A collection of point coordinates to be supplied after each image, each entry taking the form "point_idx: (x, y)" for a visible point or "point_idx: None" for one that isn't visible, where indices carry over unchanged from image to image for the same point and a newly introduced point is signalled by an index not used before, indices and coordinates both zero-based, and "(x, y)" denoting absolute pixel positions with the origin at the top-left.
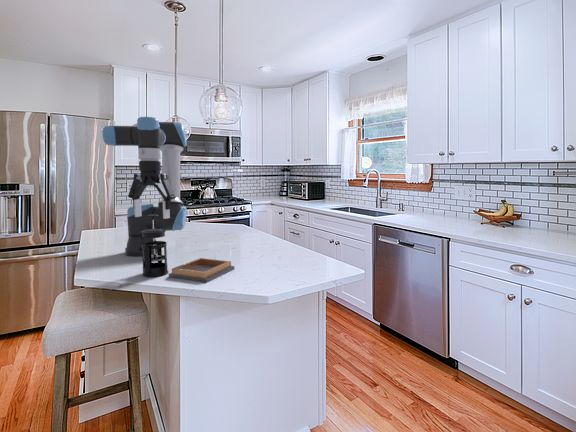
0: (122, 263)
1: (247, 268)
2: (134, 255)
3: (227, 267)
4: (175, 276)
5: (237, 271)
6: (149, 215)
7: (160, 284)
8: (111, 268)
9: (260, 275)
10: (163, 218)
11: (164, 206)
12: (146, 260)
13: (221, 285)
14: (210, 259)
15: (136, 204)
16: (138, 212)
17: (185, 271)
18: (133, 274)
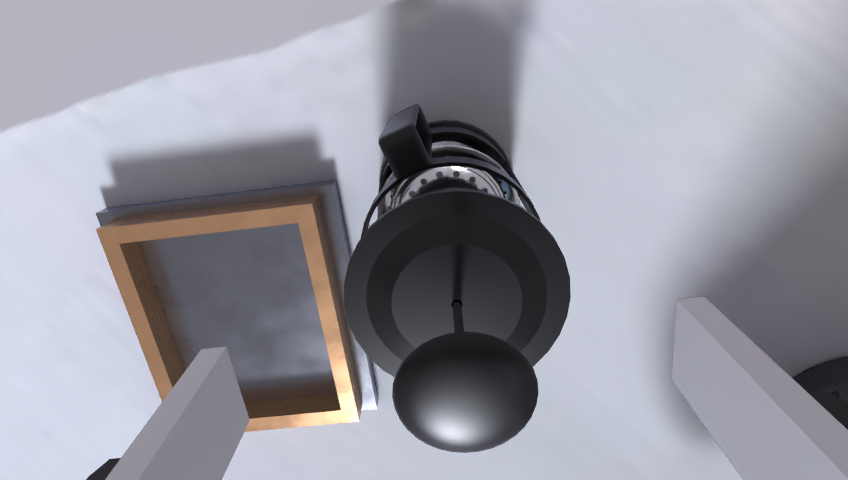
0: (782, 234)
1: None
2: (830, 363)
3: None
4: (289, 187)
5: (142, 397)
6: (465, 353)
7: (264, 67)
8: (763, 133)
9: (16, 396)
10: (221, 348)
11: (111, 474)
12: (402, 115)
13: (18, 210)
14: (289, 421)
15: (789, 435)
16: (703, 370)
17: (222, 213)
18: (543, 117)
